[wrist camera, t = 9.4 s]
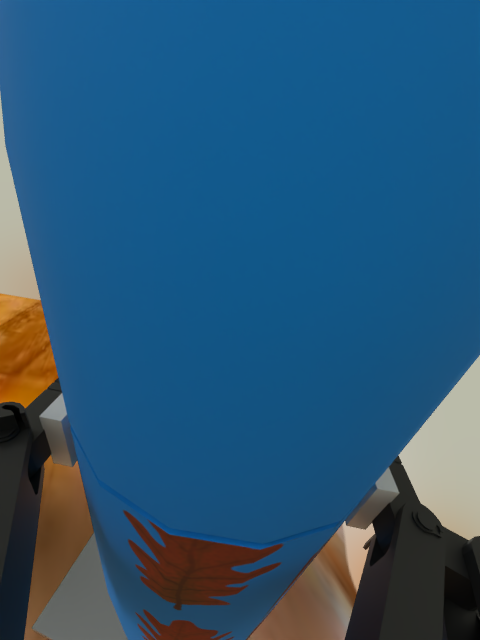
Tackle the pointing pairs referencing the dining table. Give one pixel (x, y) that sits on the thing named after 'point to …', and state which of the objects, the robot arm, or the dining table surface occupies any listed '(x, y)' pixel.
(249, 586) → the thermos
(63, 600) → the slate tile
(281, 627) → the dining table surface
